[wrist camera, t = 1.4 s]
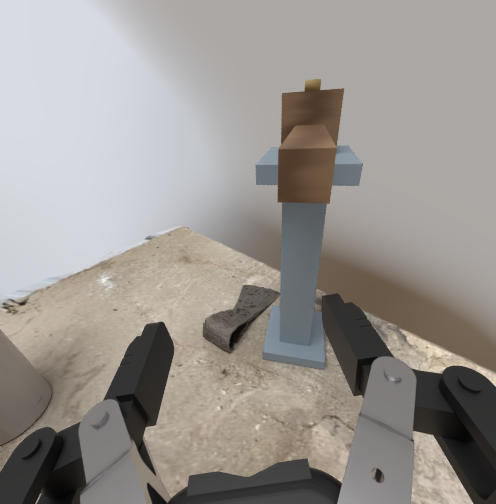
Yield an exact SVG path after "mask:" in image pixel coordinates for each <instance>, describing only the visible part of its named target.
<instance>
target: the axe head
mask: <svg viewBox="0 0 496 504" xmlns="http://www.w3.org/2000/svg"><path fill="white" fill-rule="evenodd" d="M279 296H280V293H279V292H278V291H275V290H271V289H266V288H264V287H257V286H253V285H244V286H243V288H242V290H241V293H240V296H239V299H238V301H237V303H236V305H235V307H234V309H233V310H226V311H224V312H223V311H222V312H219V313H216V314H213V315H211V316H210V317H208V318H206V320H205V323H203V337H204V338H206V339H208V340H209V341H211V342H213V343H214V344H215V345H217V346H219V347H220V348H222V349H223V350H225V351H227V352H232V351H233V348H234V347H233V342H235V343H237V342H238V341H239V340H240V338H241V335H242V332H243V331H244V330H246V328H247V325H248V323H249V321H251V320H253V319H254V318H255V317H256V316H257V315H258V314H259V313H260V312H261V311H263V310H264V309H265V308H267V307H268V306H269V305H270V304H272V303H273V302H274V301H275V300H276V298H278V297H279ZM229 342H231V343H229Z"/></svg>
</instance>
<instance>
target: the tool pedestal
mask: <svg viewBox="0 0 496 504" xmlns="http://www.w3.org/2000/svg"><path fill="white" fill-rule="evenodd" d="M279 148H280V147H275V148H274V147H273V148H271V149H270V150H269V151H268V152H267V153H266V154H265V155H264V156H263V157H262V158H261V160H260V161H259V162H258V163H257V164H256V184H257V185H278V149H279ZM362 166H363V163H362V162H361V161H360V160H359V158H358V157H357V156H356V155H355V153H354V152H353V151H352V150H351V149H350V147H349V146H337V149H336V157H335V165H334V172H333V180H332V185H339V186H344V185H345V186H358V185H359V182H360V177H361V171H362ZM326 205H327V203H287V202H282V242H281V290H280V306H273V305H272V308H271V313H270V318H269V323H268V328H267V333H266V338H265V343H264V348H263V359H265V360H270V361H276V362H282V363H288V364H293V365H299V366H305V367H311V368H316V369H322V370H324V366H325V348H324V327H323V323H322V311H314V303H315V294H316V286H317V278H318V270H319V262H320V254H321V245H322V238H323V229H324V222H325V214H326Z"/></svg>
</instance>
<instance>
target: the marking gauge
mask: <svg viewBox="0 0 496 504" xmlns="http://www.w3.org/2000/svg"><path fill="white" fill-rule="evenodd" d="M320 85H321V80H320V79H314V80H306V81H305V92H292V93H282V132H281V135H282V137H281V146H280V148H279V149H278V202H287V203H328V204H329V203H330V195H331V188H332V180H333V172H334V165H335V157H336V149H337V139H338V131H339V123H340V116H341V108H342V100H343V92H344V89H332V90H320Z"/></svg>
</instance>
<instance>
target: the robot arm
mask: <svg viewBox="0 0 496 504" xmlns="http://www.w3.org/2000/svg"><path fill="white" fill-rule="evenodd" d="M322 323H323V327H324V330H325V332H326V335H327V337H328V339H329V341H330V344H331V346H332V348H333V350H334V353H335V355H336V357H337V359H338V362H339V364H340V366H341V368H342V371H343V373H344V375H345V377H346V380H347V382H348V384H349V386H350V389H351V391H352V393H353V395H354V396H358V395H362V396H363V398H364V400H363V404H362V408H361V412H360V414H359V417H358V420H357V424H356V429H355V433H354V437H353V441H352V445H351V449H350V453H349V457H348V462H347V466H346V470H345V474H344V478H343V482H342V483H341V482H340V481H338V480H337V479H335V478H334V477H333V476H331V475H329V474H327V473H325V472H323V471H321V470H318V469H314V468H310V467H309V464H308V459H300V460H293V461H286V462H279V463H276V464H274V465H272V466H271V467H269V468H267V469H265V470H263V471H261V472H259V473H257V474H255V475H253V476H251V477H242V476H237V475H232V474H228V473H223V472H211V473H204V474H197V475H190V476H189V481H188V487H186V488H184V489H182V490H181V491H180V492H178V493H177V494H176V495H175V496H173V497H172V498H171V497H170V495H169V493H168V491H167V490H166V488H165V486H164V484H163V482H162V480H161V478H160V476H159V473H158V471H157V468H156V466H155V463H154V461H153V458H152V456H151V453H150V450H149V448H148V445H147V443H146V440H145V438H144V436H143V435H144V431H145V428H146V427H148V426H154V425H156V422H157V418H158V414H159V410H160V406H161V402H162V398H163V394H164V390H165V386H166V382H167V379H168V375H169V371H170V367H171V363H172V359H173V355H174V345H173V341H172V339H171V337H170V335H169V333H168V330H167V328H166V326H165V324H164V323H163V322H157V323H151V324H147V325H146V326H145V328H144V330H143V332H142V335H141V336H137V337H136V338H135V339H134V340H133V342H132V343H131V344H130V345H129V346H128V348H127V351H126V353H125V355H124V358H123V359H122V361H121V364H120V366H119V368H118V370H117V372H116V374H115V376H114V379H113V381H112V383H111V385H110V387H109V389H108V392H107V394H106V396H105V398H104V400H103V401H102V402H100V403H98V404H96V405H95V406H94V407H92V408H91V409H90V410H89V411H88V412H87V414H86V415H85V416H84V418H83V419H82V421H81V422H79V423H77V424H75V425H73V426H71V427H69V428H66V429H64V430H62V431H60V432H58V433H57V432H56V431H54V430H53V429H52V428H50V427H45V428H41V429H39V430H37V431H35V432H33V433H32V434H30V435H29V436H28V437H26V438H25V439H24V440H23V441H22V442H21V443H20V444H19V445H18V446H17V448H16V449H15V450H14V452H13V453H12V454H11V456H10V458H9V459H8V461H7V463H6V464H5V466H4V467H3V469H2V471H1V472H0V504H35V503H36V501H37V499H38V497H39V495H40V493H41V497H40V499H39V501H38V503H37V504H411V493H412V478H413V463H414V440H413V438H412V434H413V431H417V432H422V433H426V434H431V435H434V437H435V439H436V440H437V442H438V444H439V445H440V447H441V449H442V451H443V452H444V454H445V456H446V457H447V459H448V461H449V462H450V464H451V466H452V468H453V469H454V471H455V473H456V474H457V476H458V478H459V480H460V481H461V483H462V485H463V486H464V488H465V490H466V492H467V493H468V495H469V497H470V498H471V500H472V502H473V503H474V504H496V387H495V386H494V385H493V384H492V383H491V382H490V381H489V380H488V379H487V378H486V377H485V376H483V375H482V374H480V373H478V372H477V371H475V370H472V369H470V368H467V367H463V366H450V367H447V368H446V369H445V370H444V372H443V374H439V373H432V372H425V371H419V370H415V369H412V368H410V367H409V366H408V365H407V364H405V363H404V362H403V361H401V360H399V359H396V358H395V357H394V356H393V355H392V354H391V352H390V351H389V349H388V348H387V346H386V345H385V343H384V342H383V341H382V339H381V338H380V336H379V335H378V333H377V332H376V330H375V329H374V327H372V325H371V323H370V322H369V320H367V317H366V316H365V314H364V313H363V312H362V310H361V309H360V308H359V307H357V306H356V305H354V304H353V303H352V302H350V303H344V302H343V300H342V299H341V297H340V295H339V294H331V295H325V296H322ZM51 394H52V390H51V386H50V385H49V383H48V382H47V381H46V380H45V379H44V378H43V377H42V375H41V374H40V373H39V372H38V371H37V370H36V369H35V367H34V366H33V365H32V364H31V363H30V362H29V361H28V360H27V358H26V357H25V356H24V355H23V354H22V353H21V352H20V351H19V350H18V348H17V347H16V346H15V345H14V344H13V343H12V342H11V341H10V340H9V338H8V337H7V336H6V335H5V334H4V333H3V332H2V331H1V330H0V445H2V444H5V443H7V442H9V441H10V440H12V439H14V438H16V437H17V436H19V435H20V434H21V433H23V432H24V431H25V430H27V429H28V428H29V427H30V426H31V425H32V424H33V423H34V422H35V421H36V420H37V419H38V418H39V417H40V416H41V414H42V413H43V412H44V410H45V409H46V407H47V405H48V404H49V401H50V398H51Z"/></svg>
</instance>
